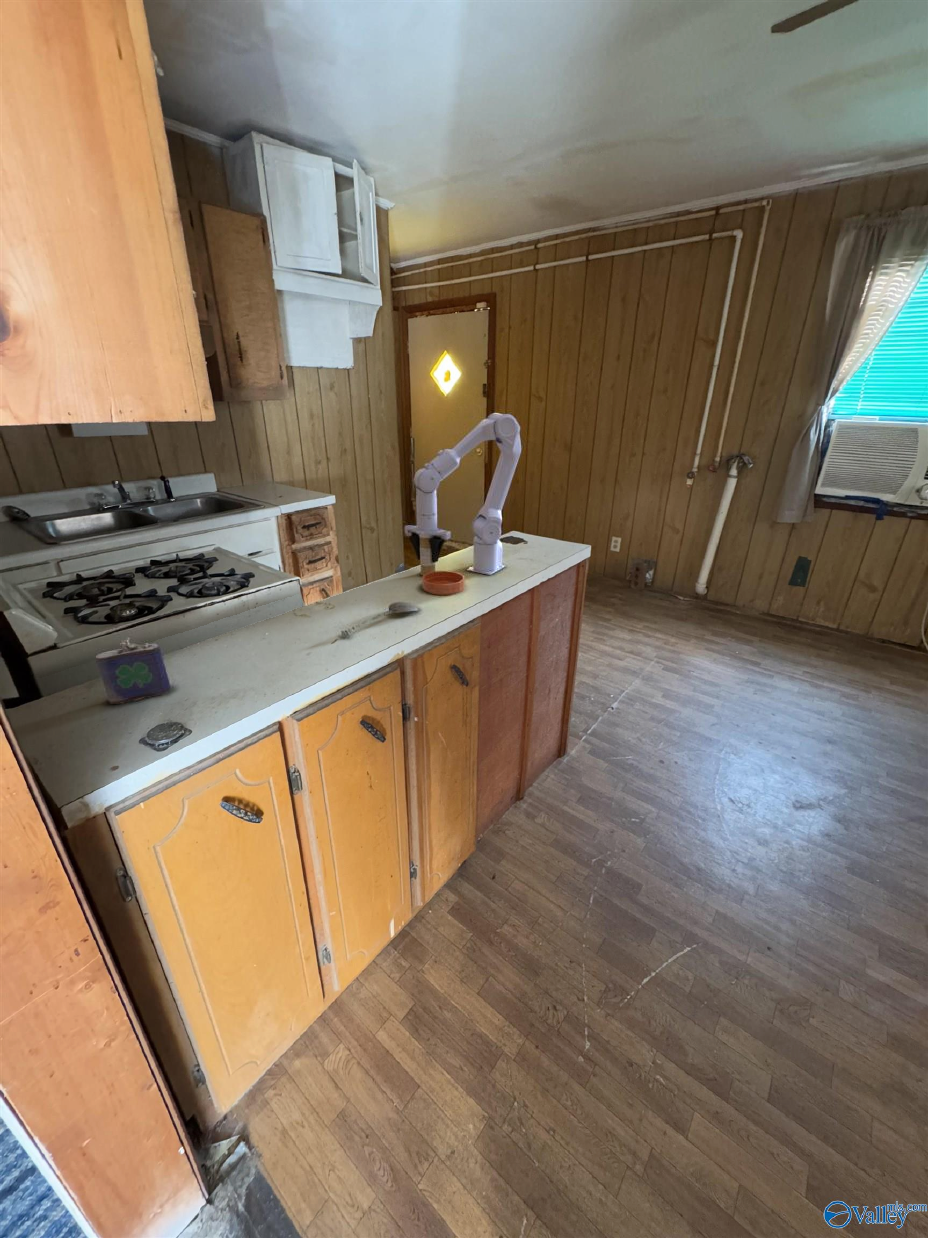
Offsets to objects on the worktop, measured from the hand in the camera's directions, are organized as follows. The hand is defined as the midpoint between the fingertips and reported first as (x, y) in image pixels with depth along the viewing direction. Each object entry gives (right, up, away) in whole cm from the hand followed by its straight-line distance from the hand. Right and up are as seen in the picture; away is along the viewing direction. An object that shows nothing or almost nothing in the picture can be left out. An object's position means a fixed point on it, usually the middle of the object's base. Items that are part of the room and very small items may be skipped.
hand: (427, 560), depth 146 cm
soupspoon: (-9, -18, -29) cm, 35 cm away
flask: (-45, -31, -59) cm, 80 cm away
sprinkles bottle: (0, -4, +2) cm, 5 cm away
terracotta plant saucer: (+5, -9, -8) cm, 13 cm away
